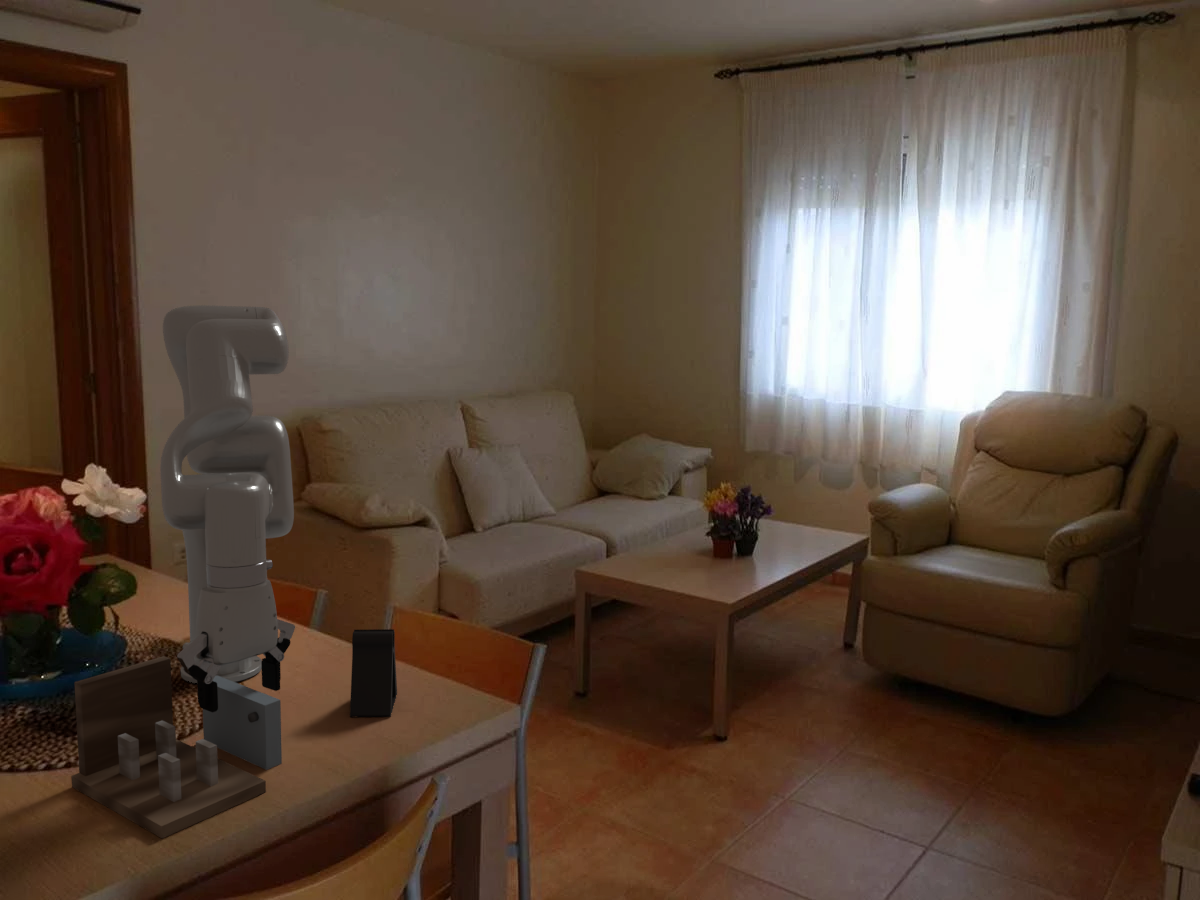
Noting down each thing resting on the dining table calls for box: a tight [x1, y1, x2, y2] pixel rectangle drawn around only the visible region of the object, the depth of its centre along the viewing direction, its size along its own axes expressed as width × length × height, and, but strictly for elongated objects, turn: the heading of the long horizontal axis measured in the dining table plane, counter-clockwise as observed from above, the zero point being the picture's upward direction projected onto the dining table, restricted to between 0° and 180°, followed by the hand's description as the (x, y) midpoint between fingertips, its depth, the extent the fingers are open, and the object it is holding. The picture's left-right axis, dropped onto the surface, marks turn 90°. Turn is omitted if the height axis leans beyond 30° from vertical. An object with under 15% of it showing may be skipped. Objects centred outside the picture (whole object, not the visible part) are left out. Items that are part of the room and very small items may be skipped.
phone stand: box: [349, 628, 398, 718], centre depth 152 cm, size 9×6×12 cm, turn 5°
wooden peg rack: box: [71, 655, 267, 839], centre depth 125 cm, size 20×14×14 cm
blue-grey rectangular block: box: [202, 676, 283, 771], centre depth 136 cm, size 14×3×9 cm, turn 55°
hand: (240, 698), depth 135 cm, fingers open, 9 cm apart
